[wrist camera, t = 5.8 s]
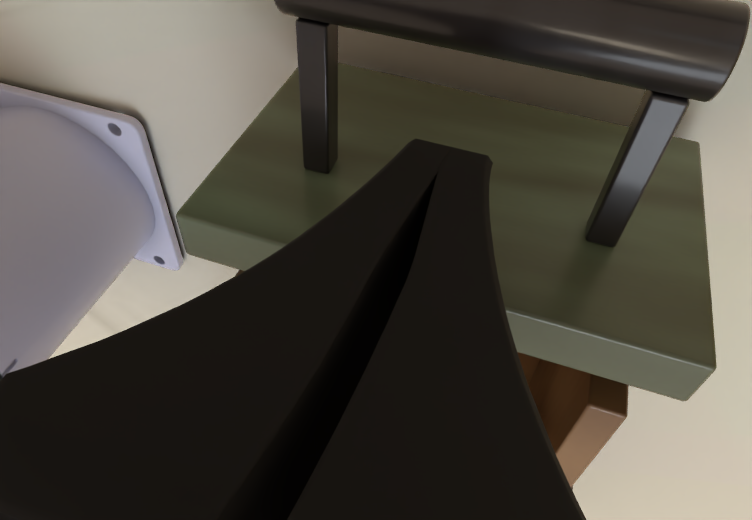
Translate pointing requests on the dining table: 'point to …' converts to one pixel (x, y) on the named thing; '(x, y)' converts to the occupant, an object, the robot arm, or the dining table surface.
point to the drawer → (516, 182)
